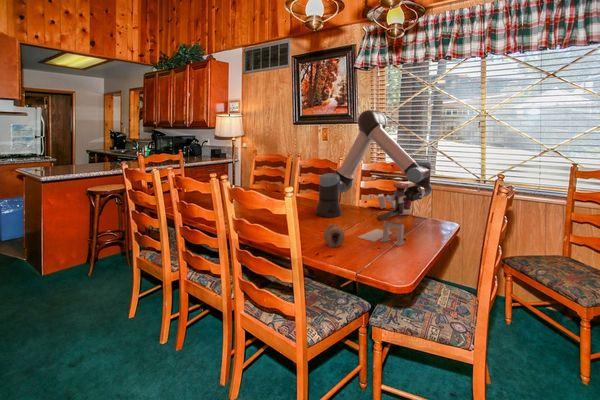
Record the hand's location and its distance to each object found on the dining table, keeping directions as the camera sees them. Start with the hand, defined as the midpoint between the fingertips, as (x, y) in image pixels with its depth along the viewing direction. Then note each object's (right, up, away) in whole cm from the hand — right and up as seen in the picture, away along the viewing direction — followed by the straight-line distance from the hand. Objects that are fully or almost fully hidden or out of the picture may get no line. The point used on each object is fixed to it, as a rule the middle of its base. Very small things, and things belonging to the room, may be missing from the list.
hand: (394, 199), depth 180 cm
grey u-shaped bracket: (-3, -19, -8) cm, 21 cm away
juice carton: (+17, -8, +47) cm, 50 cm away
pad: (-9, -17, +2) cm, 20 cm away
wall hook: (+10, -6, +60) cm, 61 cm away
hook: (-2, -8, -1) cm, 8 cm away
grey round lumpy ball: (-30, -20, -12) cm, 38 cm away
